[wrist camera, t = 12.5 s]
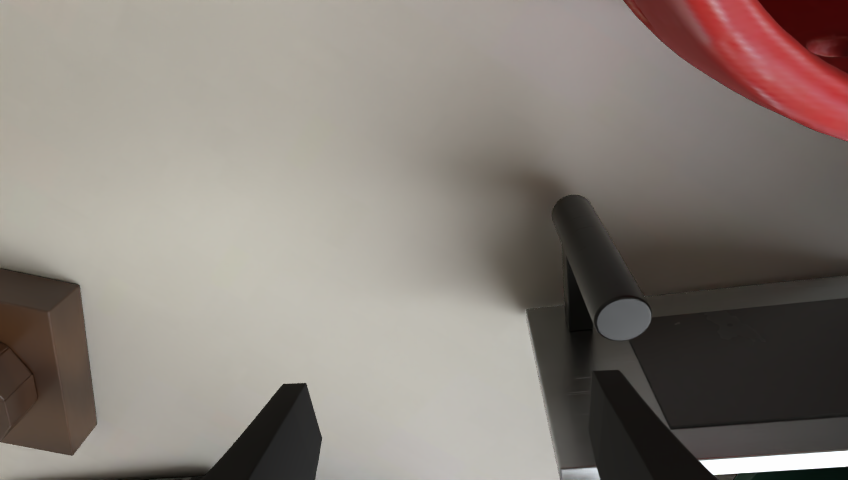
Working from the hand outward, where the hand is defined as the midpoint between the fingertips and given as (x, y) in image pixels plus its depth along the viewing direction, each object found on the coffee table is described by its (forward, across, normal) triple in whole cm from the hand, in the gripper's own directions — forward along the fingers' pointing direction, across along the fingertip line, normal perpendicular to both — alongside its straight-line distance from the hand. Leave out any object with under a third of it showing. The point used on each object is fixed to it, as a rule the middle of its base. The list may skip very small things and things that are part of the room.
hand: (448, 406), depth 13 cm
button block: (+10, +24, +5) cm, 27 cm away
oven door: (+10, -11, +2) cm, 15 cm away
